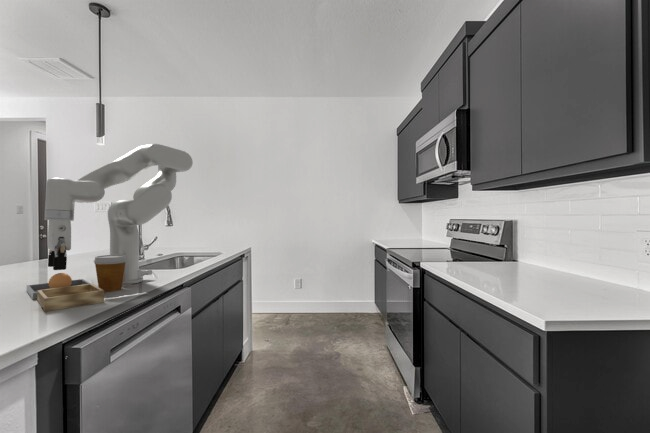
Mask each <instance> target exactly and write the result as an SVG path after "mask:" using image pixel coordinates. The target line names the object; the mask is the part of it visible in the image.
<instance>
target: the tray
mask: <svg viewBox="0 0 650 433" xmlns="http://www.w3.org/2000/svg"><path fill="white" fill-rule="evenodd" d="M36 301H37V302H38V304H40V307H41V309H42V310H43V312H51V311H57V310H58V311H59V310H64V309H69V308H75V307H81V306H87V305H93V304H100V303H104V302H105V292H104V290H103V289H101V288H99V287H98V285H96V284H94V283H91V284H85V285H76V286H68V287H60V288H52V289H44V290H37V299H36Z"/></svg>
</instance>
